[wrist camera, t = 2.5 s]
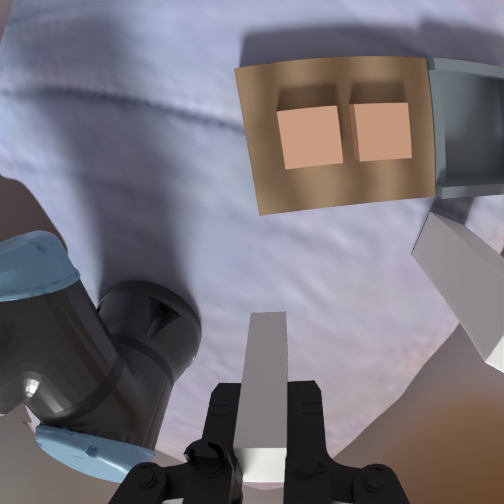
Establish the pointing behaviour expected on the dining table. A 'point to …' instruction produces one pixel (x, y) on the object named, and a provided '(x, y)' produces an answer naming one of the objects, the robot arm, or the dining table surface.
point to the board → (341, 94)
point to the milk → (466, 281)
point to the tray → (467, 127)
